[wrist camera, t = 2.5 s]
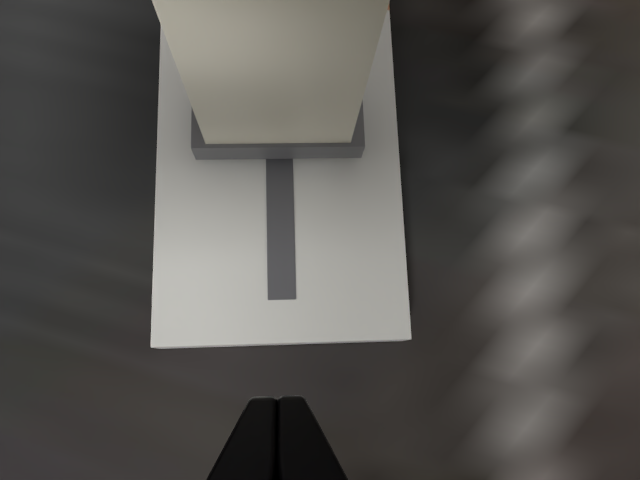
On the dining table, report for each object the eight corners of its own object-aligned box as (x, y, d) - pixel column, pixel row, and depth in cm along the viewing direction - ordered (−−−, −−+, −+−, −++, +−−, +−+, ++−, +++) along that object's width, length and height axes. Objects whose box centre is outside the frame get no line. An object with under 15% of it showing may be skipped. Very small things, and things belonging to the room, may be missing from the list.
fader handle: (361, 157, 21) (440, -71, 10) (195, 159, 20) (90, -75, 10) (357, 87, 21) (427, -200, 10) (196, 88, 21) (99, -208, 10)
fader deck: (403, 340, 21) (411, 338, 20) (160, 348, 21) (150, 347, 19) (380, -10, 24) (386, -35, 23) (170, -11, 24) (162, -37, 22)
